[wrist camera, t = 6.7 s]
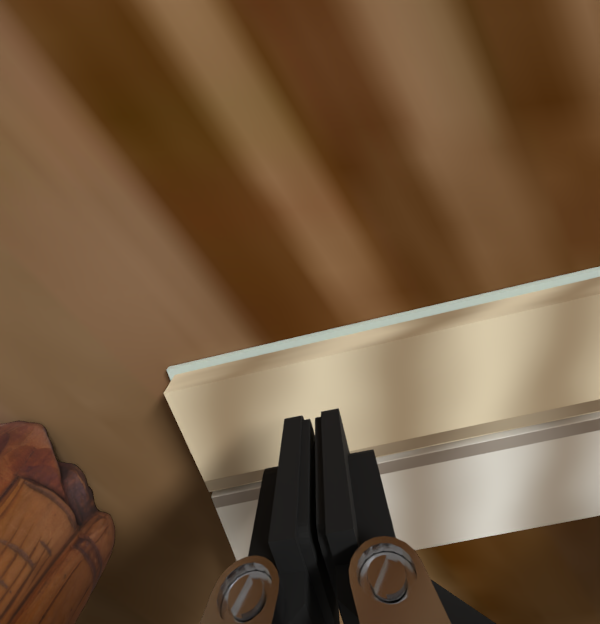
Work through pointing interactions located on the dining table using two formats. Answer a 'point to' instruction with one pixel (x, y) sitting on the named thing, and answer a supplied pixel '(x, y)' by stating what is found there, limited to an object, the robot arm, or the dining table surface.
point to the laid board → (469, 486)
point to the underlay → (386, 321)
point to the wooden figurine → (46, 531)
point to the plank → (401, 383)
